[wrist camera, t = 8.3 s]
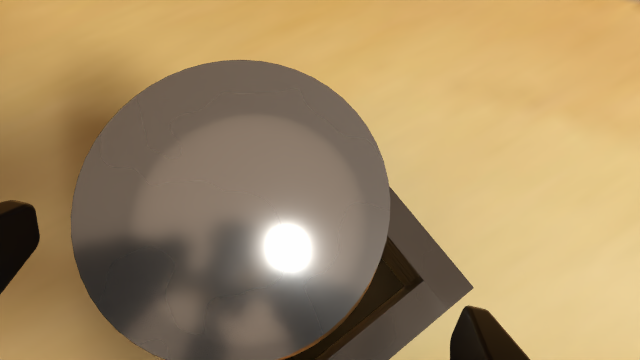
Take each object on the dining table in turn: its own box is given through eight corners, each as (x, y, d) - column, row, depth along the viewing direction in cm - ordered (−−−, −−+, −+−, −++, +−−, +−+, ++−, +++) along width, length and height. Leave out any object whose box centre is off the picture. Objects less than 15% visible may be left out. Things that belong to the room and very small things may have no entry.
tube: (371, 284, 18) (465, 230, 7) (270, 365, 17) (176, 462, 6) (298, 189, 19) (271, 5, 8) (199, 259, 18) (7, 166, 7)
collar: (444, 292, 18) (473, 287, 15) (259, 446, 16) (244, 481, 13) (310, 126, 20) (308, 89, 17) (134, 248, 19) (93, 233, 15)
